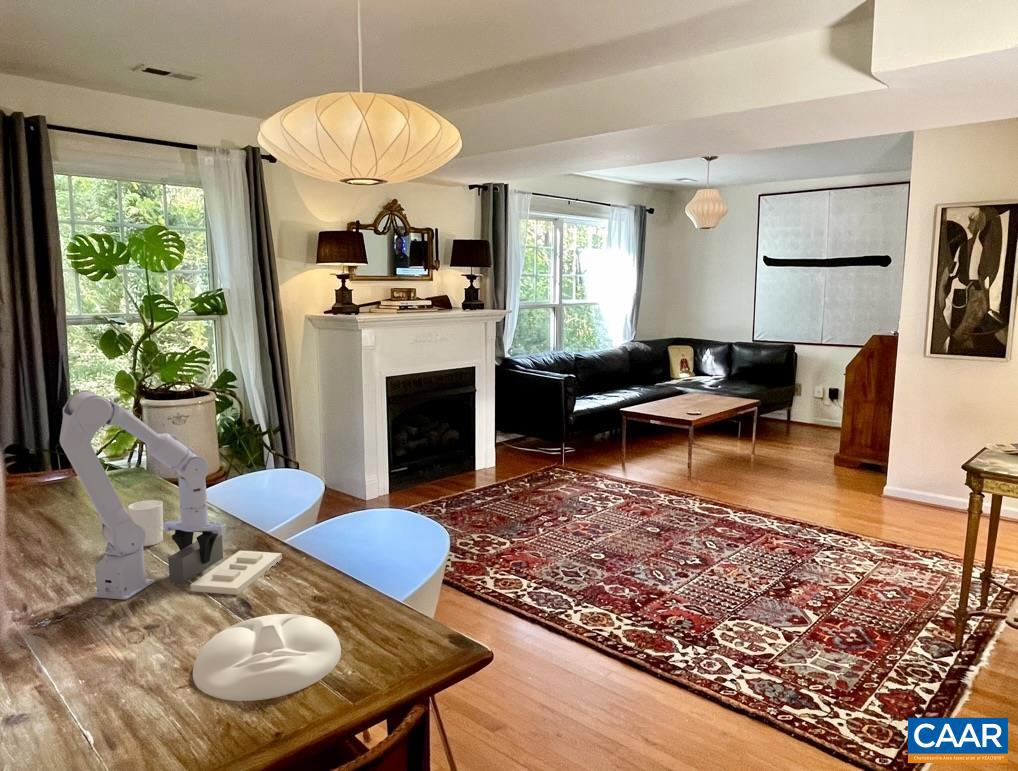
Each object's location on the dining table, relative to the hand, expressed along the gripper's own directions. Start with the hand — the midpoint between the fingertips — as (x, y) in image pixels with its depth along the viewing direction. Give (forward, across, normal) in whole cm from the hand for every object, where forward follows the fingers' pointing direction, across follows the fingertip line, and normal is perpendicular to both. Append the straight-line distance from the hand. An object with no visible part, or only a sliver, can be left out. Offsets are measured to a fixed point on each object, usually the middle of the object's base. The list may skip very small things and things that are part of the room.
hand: (197, 561), depth 164 cm
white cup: (+2, +23, -14) cm, 27 cm away
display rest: (+2, -11, +1) cm, 11 cm away
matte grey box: (+2, 0, 0) cm, 2 cm away
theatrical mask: (+2, -36, +34) cm, 50 cm away
